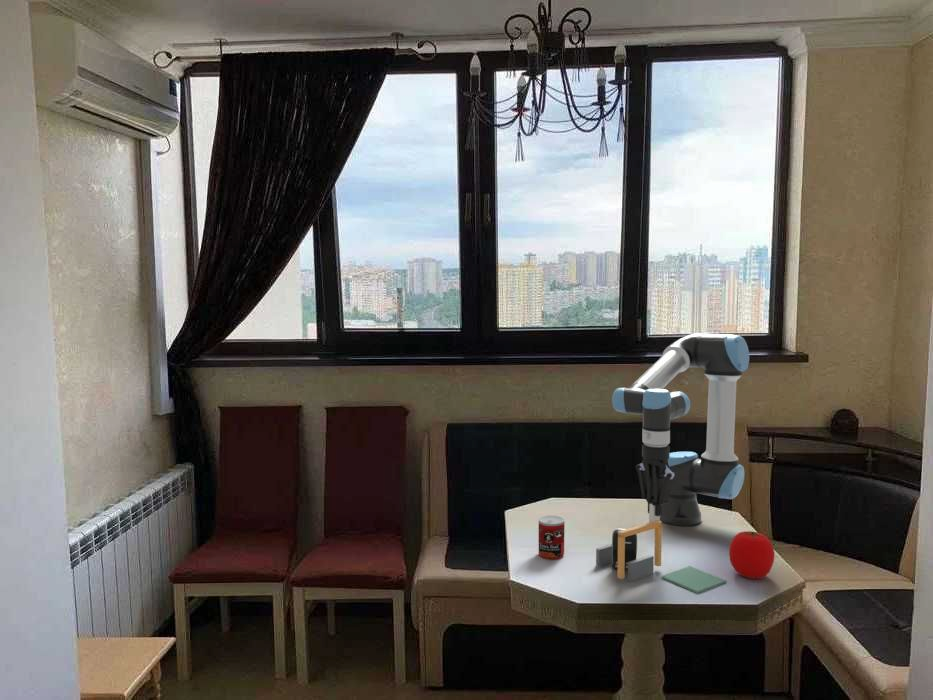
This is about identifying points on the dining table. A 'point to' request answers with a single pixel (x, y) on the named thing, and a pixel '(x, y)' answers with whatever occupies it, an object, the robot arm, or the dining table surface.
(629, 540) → the battery charger
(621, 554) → the arched handle
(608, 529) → the dining table surface
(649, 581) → the dining table surface
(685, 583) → the mat
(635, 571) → the clip
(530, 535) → the dining table surface
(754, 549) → the tomato
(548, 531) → the canned food
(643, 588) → the dining table surface
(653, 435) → the robot arm
